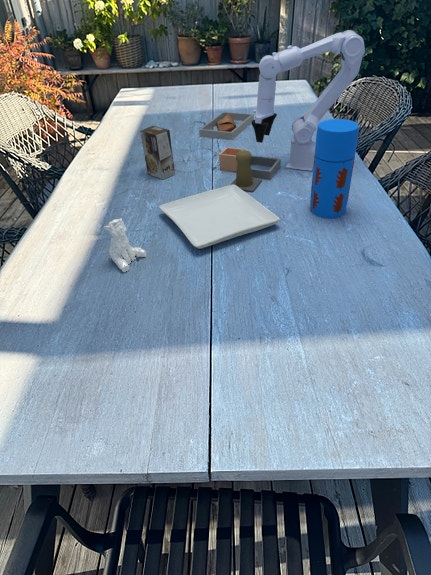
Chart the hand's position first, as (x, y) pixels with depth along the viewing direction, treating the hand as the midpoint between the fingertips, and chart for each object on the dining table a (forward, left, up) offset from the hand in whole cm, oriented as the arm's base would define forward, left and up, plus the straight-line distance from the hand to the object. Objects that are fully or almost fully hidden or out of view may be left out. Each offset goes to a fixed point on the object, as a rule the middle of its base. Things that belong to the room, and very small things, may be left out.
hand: (262, 138), depth 145 cm
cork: (+1, +16, -10) cm, 19 cm away
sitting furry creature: (+15, +68, -11) cm, 70 cm away
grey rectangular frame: (0, +4, -10) cm, 11 cm away
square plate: (0, +41, -11) cm, 42 cm away
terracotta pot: (+11, +4, -10) cm, 15 cm away
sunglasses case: (+30, -35, -11) cm, 48 cm away
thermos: (-29, +24, -11) cm, 39 cm away
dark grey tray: (+30, -35, -10) cm, 47 cm away
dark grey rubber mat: (+1, +16, -10) cm, 19 cm away
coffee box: (+34, +17, -11) cm, 39 cm away
